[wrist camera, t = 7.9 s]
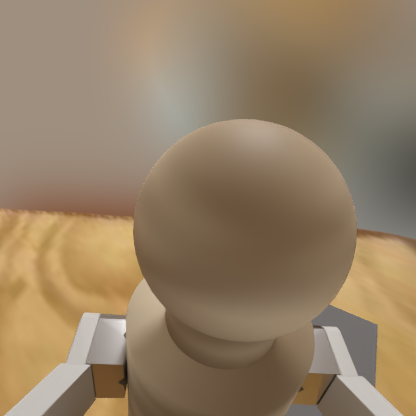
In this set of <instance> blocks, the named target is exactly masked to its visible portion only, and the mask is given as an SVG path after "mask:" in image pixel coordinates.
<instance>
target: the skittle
mask: <svg viewBox="0 0 416 416" xmlns="http://www.w3.org/2000/svg"><path fill="white" fill-rule="evenodd" d="M356 234H357V222H356V215H355V209H354V204H353V201H352V198H351V195H350V191H349V189H348V187H347V185H346V183H345V181H344V179H343V177H342V175H341V173H340V171H339V170H338V169H337V167H336V166H335V165H334V163H333V162H332V161H331V159H330V158H329V157H328V156H327V155H326V154H325V153H324V152H323V151H322V150H321V149H320V148H319V147H318V146H317V145H316V144H314V143H313V142H312V141H310V140H309V139H307V138H306V137H304V136H302V135H301V134H299V133H298V132H296V131H294V130H292V129H289V128H287V127H284V126H281V125H278V124H275V123H271V122H266V121H261V120H252V119H235V120H228V121H222V122H217V123H213V124H210V125H208V126H205V127H202V128H200V129H197V130H195V131H193V132H192V133H190V134H188V135H187V136H185V137H183V138H182V139H180V140H179V141H178V142H176V143H175V144H174V145H173V146H171V147H170V148H169V149H168V150H167V151H166V152H165V153H164V154H163V155H162V157H161V158H160V159H159V160H158V161H157V162H156V163H155V165H154V166H153V168H152V169H151V171H150V172H149V174H148V176H147V178H146V180H145V181H144V184H143V186H142V188H141V191H140V194H139V197H138V200H137V204H136V209H135V214H134V228H133V235H134V245H135V251H136V256H137V260H138V263H139V266H140V269H141V272H142V274H143V276H144V278H143V280H142V281H141V282H140V283H139V285H138V286H137V288H136V289H135V291H134V293H133V295H132V297H131V300H130V302H129V305H128V310H127V314H126V350H127V383H128V416H285V415H286V413H287V411H288V409H289V408H290V406H291V404H292V402H293V400H294V399H295V397H296V395H297V393H298V391H299V389H300V388H301V386H302V384H303V382H304V380H305V378H306V376H307V374H308V372H309V370H310V368H311V365H312V361H313V358H314V350H315V336H314V330H313V325H312V322H311V320H313V319H314V318H315V317H317V316H318V315H319V314H320V313H321V312H322V311H323V310H324V309H325V308H326V307H327V306H328V305H329V304H330V303H331V302H332V300H333V299H334V298H335V297H336V295H337V294H338V292H339V291H340V289H341V287H342V286H343V284H344V282H345V280H346V278H347V276H348V273H349V271H350V268H351V265H352V262H353V258H354V253H355V248H356Z"/></svg>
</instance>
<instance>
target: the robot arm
mask: <svg viewBox="0 0 416 416" xmlns="http://www.w3.org/2000/svg"><path fill="white" fill-rule="evenodd" d="M313 330H314V336H315V350H314V358H313V361H312V365H311V368H310V370H309V372H308V374H307V376H306V378H305V380H304V382H303V384H302V386H301V388H300V389H299V391H298V393H297V395H296V397H295V399H294V400H293V402H292V404H302V405H318V406H317V408H318V409H319V411H320V412H321V414H322V415H323V416H403V415H402V414H401V413H400V412H399V411H398V410H397V409H396V408H395V407H394V406H393V405H392V404H391V403H390V402H389V401H388V400H387V399H386V398H385V397H384V396H382V395H381V394H380V393H379V392H378V391H377V390H376V389H375V388H374V387H373V386H372V385H371V384H370V383H369V382H368V381H367V380H366V379H365V378H364V377H363V376H358V374H357V371H356V369H355V366H354V364H353V362H352V359H351V357H350V354H349V352H348V349H347V347H346V344H345V342H344V339H343V337H342V335H341V332H340V330H339V329H338V328H337V327H329V326H317V325H313ZM126 387H127V350H126V316H125V315H112V314H100V313H84V314H83V316H82V317H81V320H80V322H79V325H78V328H77V331H76V334H75V337H74V340H73V343H72V346H71V349H70V352H69V354H68V357H67V360H66V363H60V364H59V365H58V366H57V367H56V368H55V369H54V370H53V371H51V372H50V373H49V374H48V375H47V376H46V377H45V378H44V379H43V380H42V381H41V382H40V383H39V384H37V385H36V386H35V387H34V388H33V389H32V390H31V391H30V392H29V393H28V394H27V395H26V396H25V397H24V398H22V399H21V400H20V401H19V402H18V403H17V404H16V405H15V406H14V407H13V408H12V409H11V410H10V411H9V412H7V413H6V414H5V415H4V416H83V415H84V414H85V413H86V411H87V410H88V409H89V408H90V406H91V405H92V404H93V402H94V401H95V398H125V392H126Z"/></svg>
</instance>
